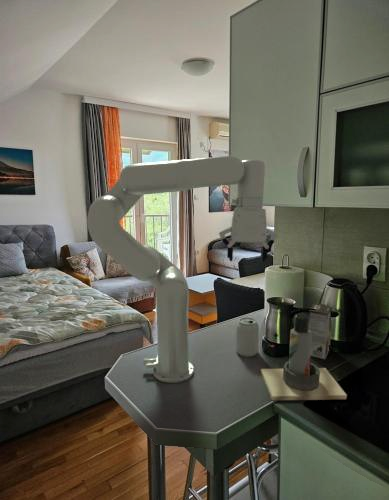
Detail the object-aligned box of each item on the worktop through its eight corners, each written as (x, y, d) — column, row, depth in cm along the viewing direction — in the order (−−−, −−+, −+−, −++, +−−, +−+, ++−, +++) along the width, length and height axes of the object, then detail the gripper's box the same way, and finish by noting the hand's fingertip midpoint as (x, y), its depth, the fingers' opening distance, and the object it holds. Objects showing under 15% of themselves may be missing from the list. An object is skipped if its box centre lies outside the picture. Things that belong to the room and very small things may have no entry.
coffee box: (311, 344, 120) (313, 302, 118) (330, 348, 117) (333, 305, 114) (305, 355, 112) (308, 309, 110) (325, 359, 109) (328, 313, 107)
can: (257, 359, 110) (258, 325, 108) (235, 356, 111) (235, 323, 109) (258, 348, 117) (258, 316, 115) (236, 347, 119) (237, 315, 117)
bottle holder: (272, 400, 88) (272, 382, 87) (260, 372, 101) (261, 356, 101) (346, 399, 88) (347, 381, 87) (325, 371, 102) (326, 355, 101)
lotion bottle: (310, 379, 96) (314, 313, 92) (306, 388, 91) (310, 320, 87) (291, 373, 98) (294, 310, 95) (285, 383, 94) (288, 316, 90)
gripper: (221, 203, 93) (218, 262, 96) (282, 204, 93) (278, 264, 95) (219, 202, 100) (217, 257, 103) (276, 204, 100) (272, 259, 103)
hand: (246, 260), depth 99 cm, fingers open, 9 cm apart
